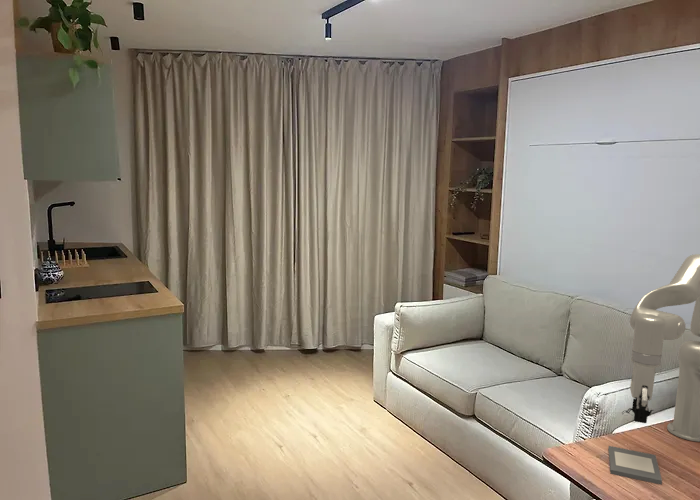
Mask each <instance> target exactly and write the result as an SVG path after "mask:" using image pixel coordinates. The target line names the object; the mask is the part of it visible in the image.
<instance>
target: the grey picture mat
mask: <svg viewBox="0 0 700 500" xmlns="http://www.w3.org/2000/svg"><path fill="white" fill-rule="evenodd" d="M607 451H608V461H609V462H608V463H609V473H610V474H611V475H615V476H620V477H624V478H630V479H632V480H633V479H635V480H639V481H641V482H642V481H643V482H648V483H653V484H656V485H661V486H662V483H663V479H662V475H661V471H660V467H659V464H658V463H659V462H658V459H657V456H656V454H654V453H653V454H652V453H647V452H642V451H637V450H634V449H633V450H632V449H628V448H623V447H622V448H621V447H617V446H613V445H608V448H607Z"/></svg>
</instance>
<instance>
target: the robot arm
mask: <svg viewBox="0 0 700 500" xmlns="http://www.w3.org/2000/svg"><path fill="white" fill-rule="evenodd" d="M674 274H675V275H674V276H673V278H672V279H671V281H670V283H668V284H665V285H662V286H659V287H657V288H655V289H653V290H652V291H651V290H650V291H649V292H647V293H646V294H644V295H643V296H642V297H640V300H639V301H638V302H637V304H636V305H635V306H634V308H633V310H632V312H631V315H630V319H629V323H630V326H631V328H632V329H633V330H634V332H633V338H632V339H633V340H632V349H631V356H630V361H631V362H632V363H633V366H632V374H631V381H630V385H629V387H630V389H629V390H630V393H631V397H632V398H633V400H632V407H631V408H632V409H634V408H635V410H634V411H635V415H634V414H633V420H634V421H633V422H634V423H642V424H647V422H648V421H647V420H648V416H647V415H648V409H649V401H651V400H652V397H653V391H654V385H655V384H654V383H655V376H656V375H655V374H656V368H659V367H661V363H662V362H661V361H662V354H663V348H664V340H665V341H675V340H677V339H679V338H681V337H682V336H683V335H684V333H685V332H686V328H687V327H686V326H687V325H686V321H685V319H683V317H681V316H680V315H678V314H675V313H670V312H667V311H666V312H665V311H663V310H658V309H661V308H666V307H674V306H683V305H688V304H692V303H694V302H695V303H694V307H693V311H692V315H691V321H690V332H691V334H693V335H694V336H696V337H698V338H700V254H699V253H695V254H692V255H689V256H688V257H686V258H685V259H684V261H683V263H682V264H681V266H679V268H678V270H677V271H676V273H674ZM677 355H678V365H679V366H678V367H679V369H678V371H679V372H678V380H677V381H678V383H677V390H676V397H675V407H674V412H673V421H672V422H669V423H668V424H666V425H667V427H666V428H667V430H668V432H669V433H670V434H672V435H674V436H675V437H677V438H681V439H683V440H687V441H691V442H696V443H697V442H698V443H699V442H700V341H699V340H686V341H683V342H682V343H681V344H680V346H679V348H678V354H677ZM633 402H634V403H635V404H637V408H636V405H634V403H633ZM631 411H632V413H634V412H633V410H631ZM636 421H637V422H636Z"/></svg>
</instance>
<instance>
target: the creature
mask: <svg viewBox="0 0 700 500" xmlns="http://www.w3.org/2000/svg"><path fill="white" fill-rule="evenodd" d="M633 403H634V402H633V401H632V404H633ZM634 405H636V408H637V404H635V403H634ZM632 410H633V412H632V413H634V414H633V416H634V415H635V411H634V410H635V408H634V409H632V407H629V408H628V409H627V410H623V411H622V412H621V414H622V415H624V414H625V413H627V414H629V415H631V413H630V412H631V411H632ZM653 411H654V409H651V410H650V408H648V415H647V417H649V416H651V414H652V412H653ZM633 422H635V421H634V419H633V420H632V421H631V423H633ZM635 423H638V422H637V421H636V422H635Z"/></svg>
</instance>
